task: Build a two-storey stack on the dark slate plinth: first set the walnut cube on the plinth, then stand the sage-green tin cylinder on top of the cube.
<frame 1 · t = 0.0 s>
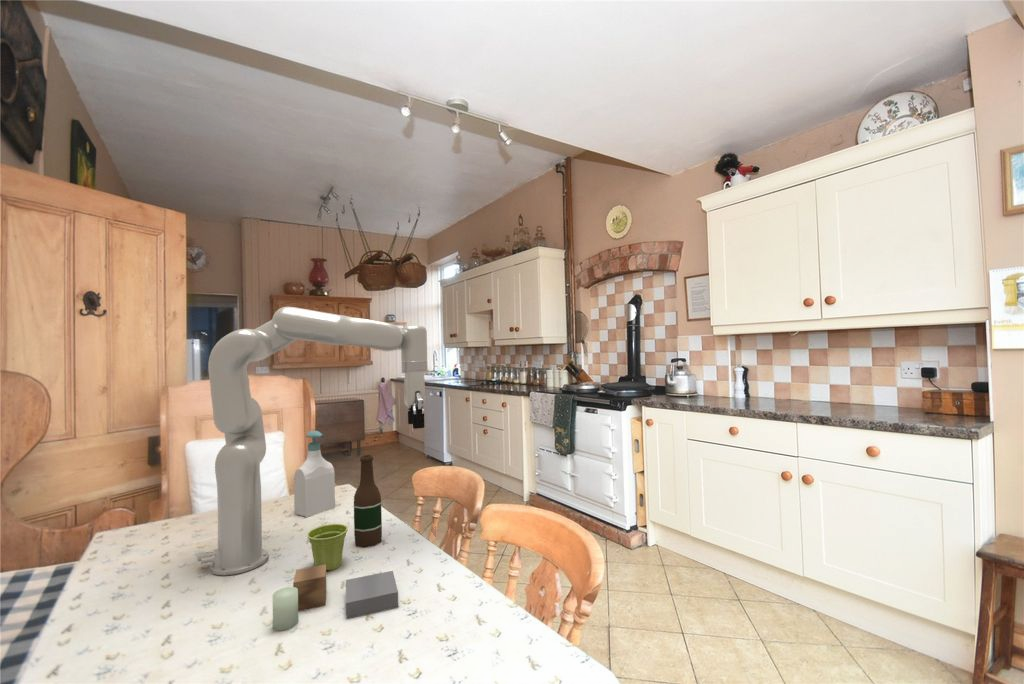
hand: (416, 425, 130), 31 cm above the table, fingers open, 9 cm apart
beer bottle: (368, 543, 124), on the table
plant pot: (328, 567, 110), on the table
tin: (285, 624, 86), on the table
plinth: (371, 600, 93), on the table
cube: (310, 601, 94), on the table
soap bottle: (316, 512, 151), on the table
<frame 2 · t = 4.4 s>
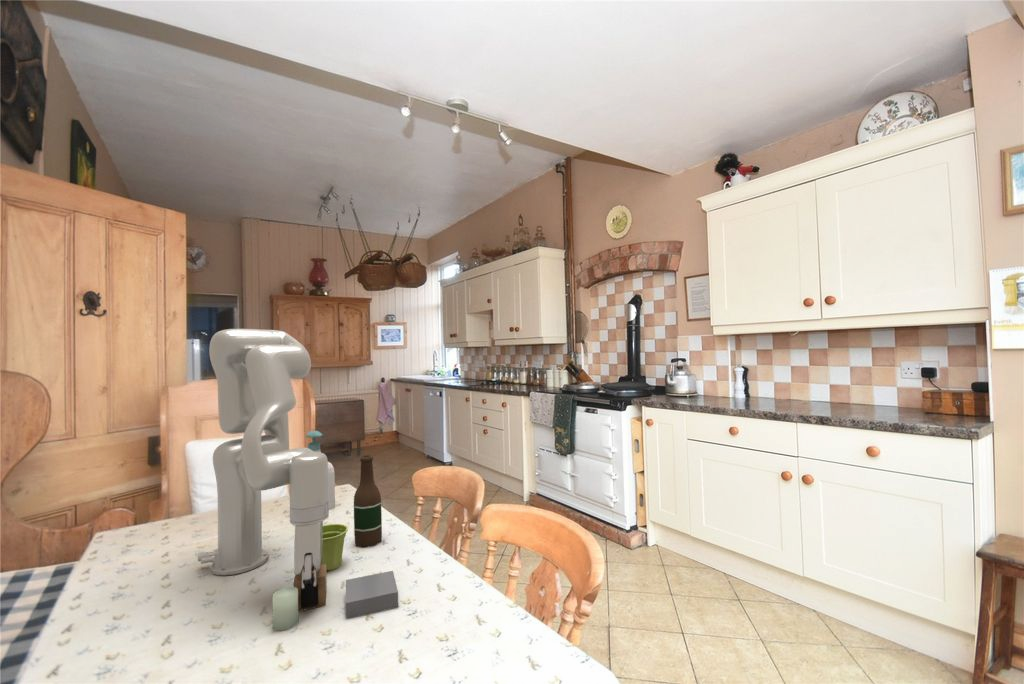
hand: (310, 597, 94), 1 cm above the table, fingers closed on cube, 6 cm apart
cube: (310, 601, 94), on the table, touching gripper
everything else where it was.
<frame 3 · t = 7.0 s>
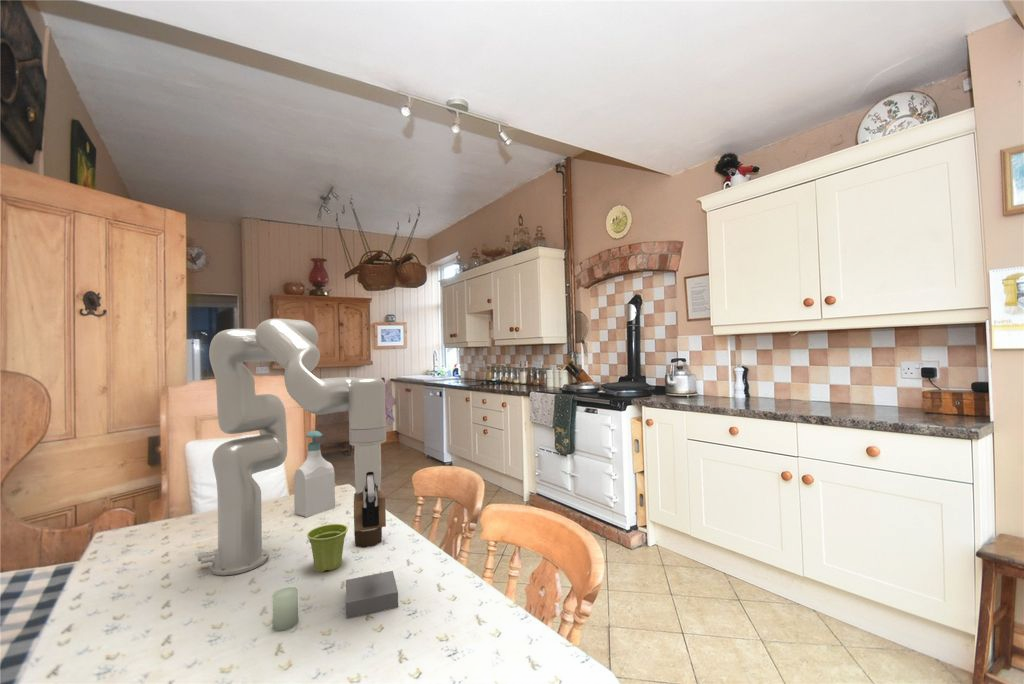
hand: (369, 520, 94), 17 cm above the table, fingers closed on cube, 6 cm apart
cube: (370, 524, 94), point 16 cm above the table, touching gripper
everything else where it was.
when the fingers open (5 cm above the table, at t = 9.6 s): cube stays where it is, resting on plinth.
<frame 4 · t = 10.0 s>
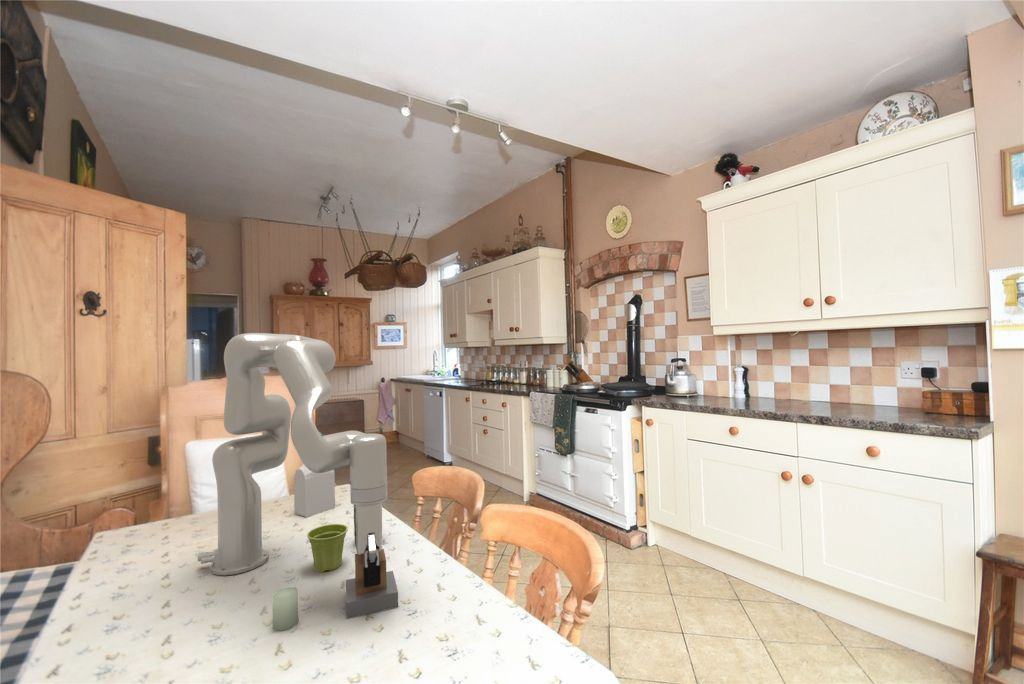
hand: (370, 574, 94), 5 cm above the table, fingers open, 9 cm apart
cube: (370, 585, 94), point 3 cm above the table, touching plinth
everything else where it was.
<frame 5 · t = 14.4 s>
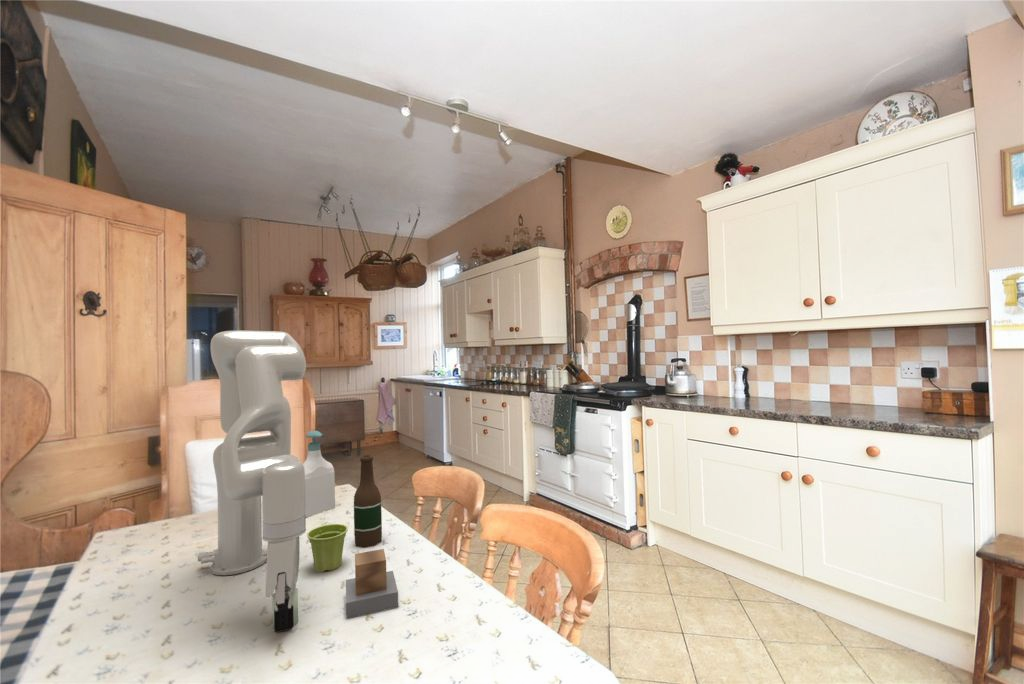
hand: (285, 621, 86), 1 cm above the table, fingers closed on tin, 4 cm apart
tin: (285, 624, 86), on the table, touching gripper
everything else where it was.
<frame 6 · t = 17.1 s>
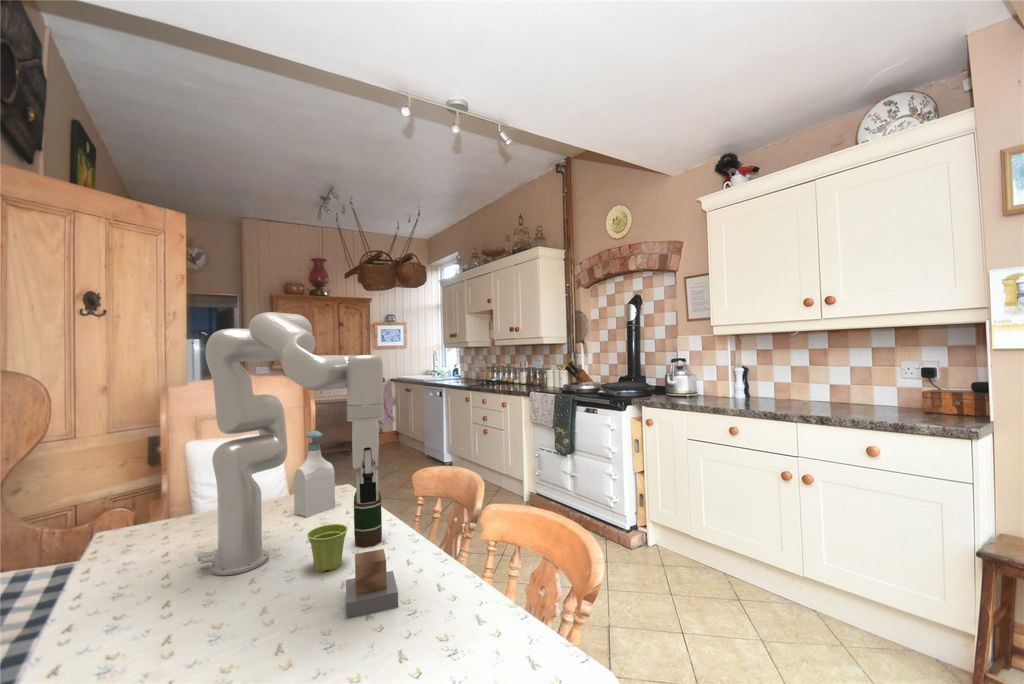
hand: (367, 497, 94), 22 cm above the table, fingers closed on tin, 4 cm apart
tin: (367, 500, 94), point 21 cm above the table, touching gripper
everything else where it was.
when the fingers open (10 cm above the table, at t = 20.1 s): tin stays where it is, resting on cube.
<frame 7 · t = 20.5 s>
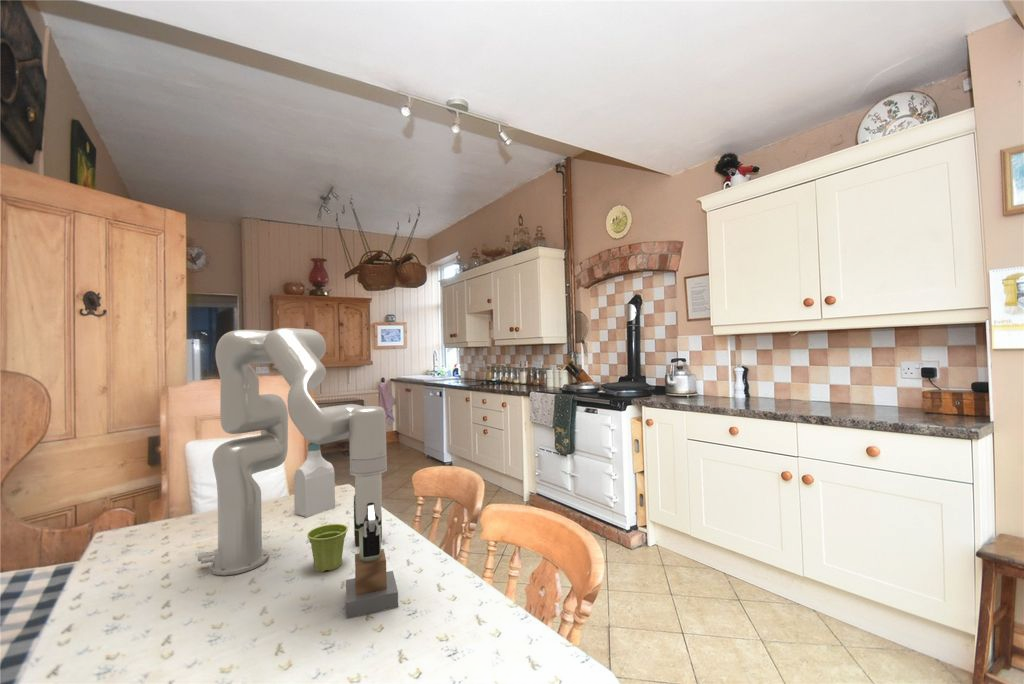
hand: (370, 546, 94), 11 cm above the table, fingers open, 9 cm apart
tin: (370, 556, 94), point 9 cm above the table, touching cube
cube: (370, 585, 94), point 3 cm above the table, touching plinth, tin
everything else where it was.
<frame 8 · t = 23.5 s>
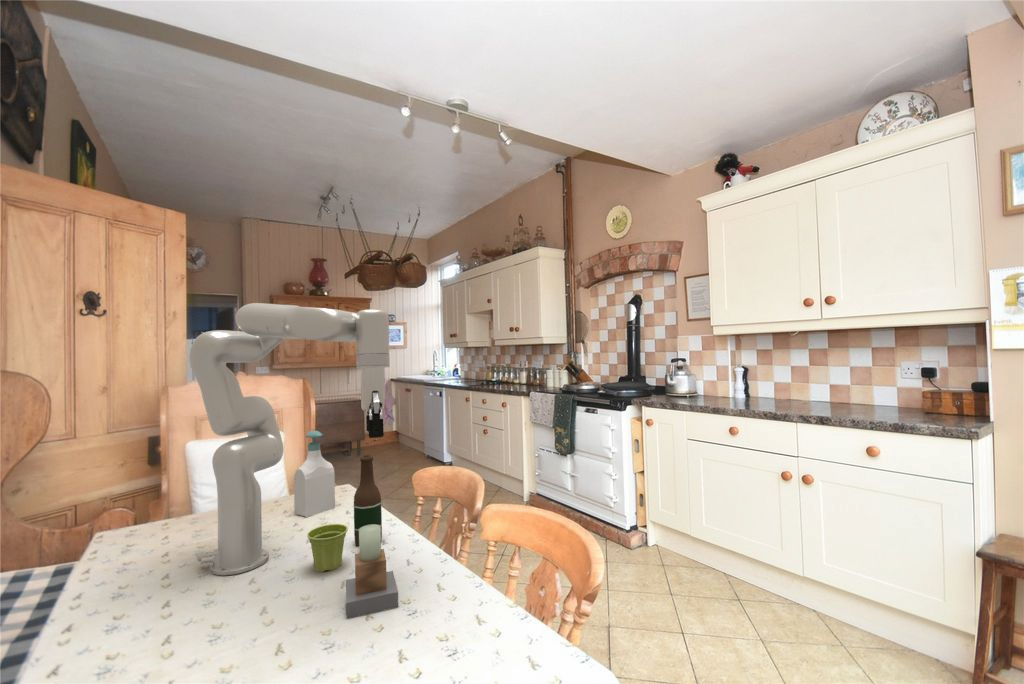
hand: (374, 433, 105), 33 cm above the table, fingers open, 9 cm apart
nothing on the table moved.
at the end: cube inside the target area on the plinth (0.1 cm from its centre), point 3.0 cm above the plinth's base; tin 0.0 cm off-centre on the cube, point 6.0 cm above the cube's base; tin tilted 0° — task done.
